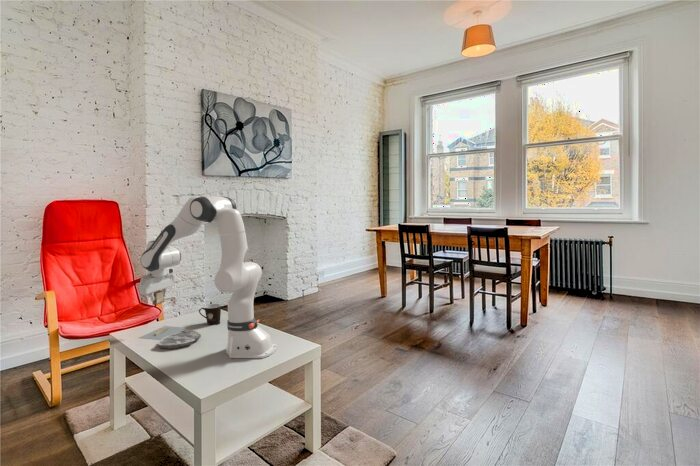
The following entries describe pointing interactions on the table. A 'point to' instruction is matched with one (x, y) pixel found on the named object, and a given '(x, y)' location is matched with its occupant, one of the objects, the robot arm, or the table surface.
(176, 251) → the robot arm
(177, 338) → the brain slice
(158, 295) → the walnut block
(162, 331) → the birch strip
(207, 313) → the coffee mug
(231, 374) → the table surface
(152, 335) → the rubber mat
